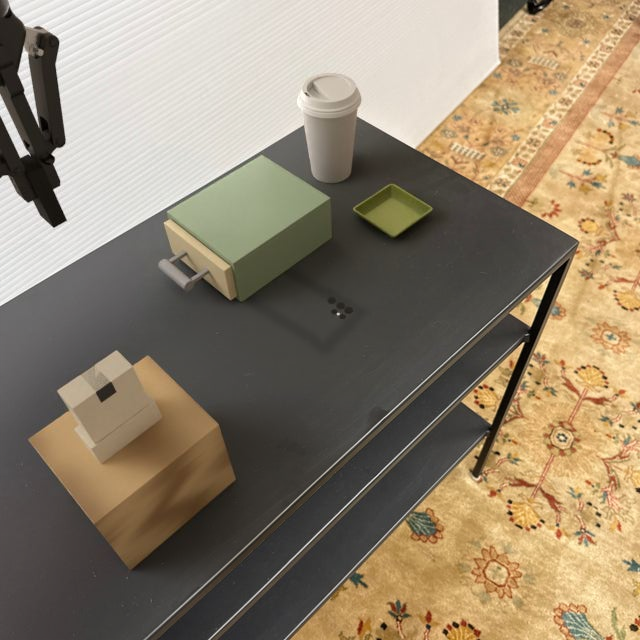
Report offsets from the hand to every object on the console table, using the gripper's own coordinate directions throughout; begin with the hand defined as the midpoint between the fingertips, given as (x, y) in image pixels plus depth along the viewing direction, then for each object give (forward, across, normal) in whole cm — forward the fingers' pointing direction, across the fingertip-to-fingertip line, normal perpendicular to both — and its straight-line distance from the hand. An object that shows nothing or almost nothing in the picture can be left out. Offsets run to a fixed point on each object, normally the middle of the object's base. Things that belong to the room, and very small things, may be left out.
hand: (53, 217), depth 64 cm
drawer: (+24, +22, +4) cm, 33 cm away
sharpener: (+12, -7, -17) cm, 22 cm away
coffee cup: (+25, +46, +8) cm, 53 cm away
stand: (+24, -7, -17) cm, 31 cm away
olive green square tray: (+25, +44, -7) cm, 51 cm away
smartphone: (+25, +23, -8) cm, 35 cm away
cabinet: (+24, +26, +4) cm, 36 cm away
